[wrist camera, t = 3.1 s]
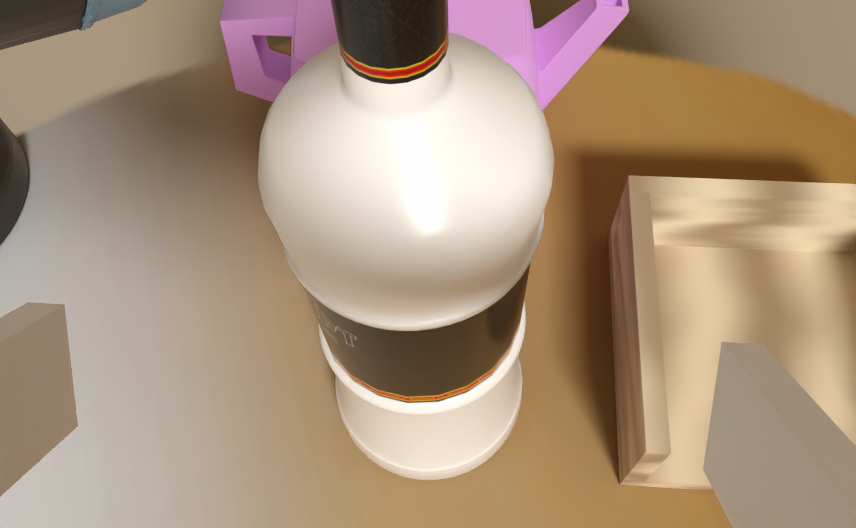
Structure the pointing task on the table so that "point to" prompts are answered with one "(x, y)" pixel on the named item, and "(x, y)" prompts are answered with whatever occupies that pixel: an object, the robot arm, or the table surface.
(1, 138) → the robot arm
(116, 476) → the table surface
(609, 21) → the teakettle
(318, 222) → the vodka
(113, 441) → the table surface
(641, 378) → the bottle rest
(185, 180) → the table surface
